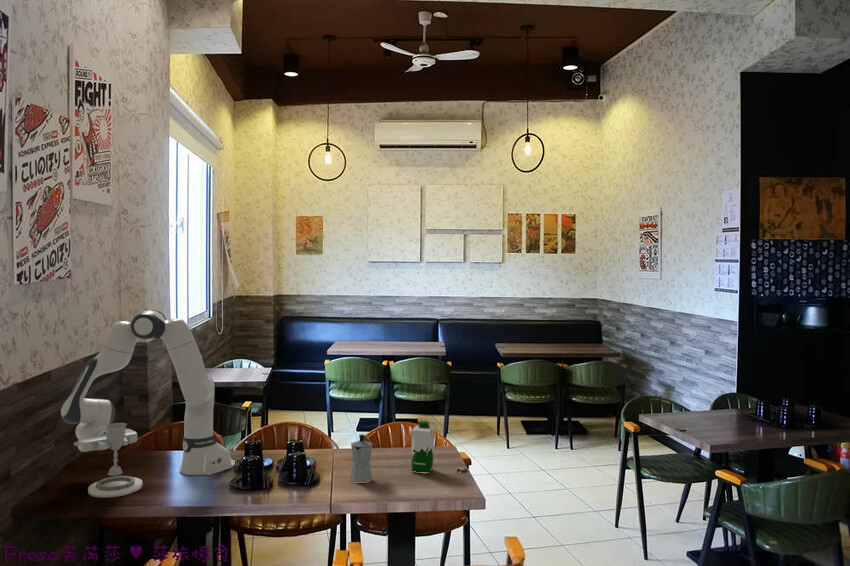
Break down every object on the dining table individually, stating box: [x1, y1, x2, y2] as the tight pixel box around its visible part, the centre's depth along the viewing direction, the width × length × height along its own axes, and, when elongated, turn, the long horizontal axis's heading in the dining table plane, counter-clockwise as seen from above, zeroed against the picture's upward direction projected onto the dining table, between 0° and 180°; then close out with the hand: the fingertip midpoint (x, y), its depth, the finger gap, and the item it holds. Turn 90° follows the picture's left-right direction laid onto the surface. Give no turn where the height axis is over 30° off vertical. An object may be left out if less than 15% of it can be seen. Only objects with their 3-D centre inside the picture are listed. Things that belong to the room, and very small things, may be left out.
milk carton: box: [411, 420, 435, 472], centre depth 255 cm, size 9×9×20 cm
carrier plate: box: [87, 475, 143, 499], centre depth 228 cm, size 18×18×3 cm
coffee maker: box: [349, 434, 373, 483], centre depth 243 cm, size 15×9×18 cm, turn 168°
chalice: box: [105, 422, 128, 477], centre depth 228 cm, size 7×7×18 cm
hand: (116, 444), depth 227 cm, fingers closed on chalice, 5 cm apart
